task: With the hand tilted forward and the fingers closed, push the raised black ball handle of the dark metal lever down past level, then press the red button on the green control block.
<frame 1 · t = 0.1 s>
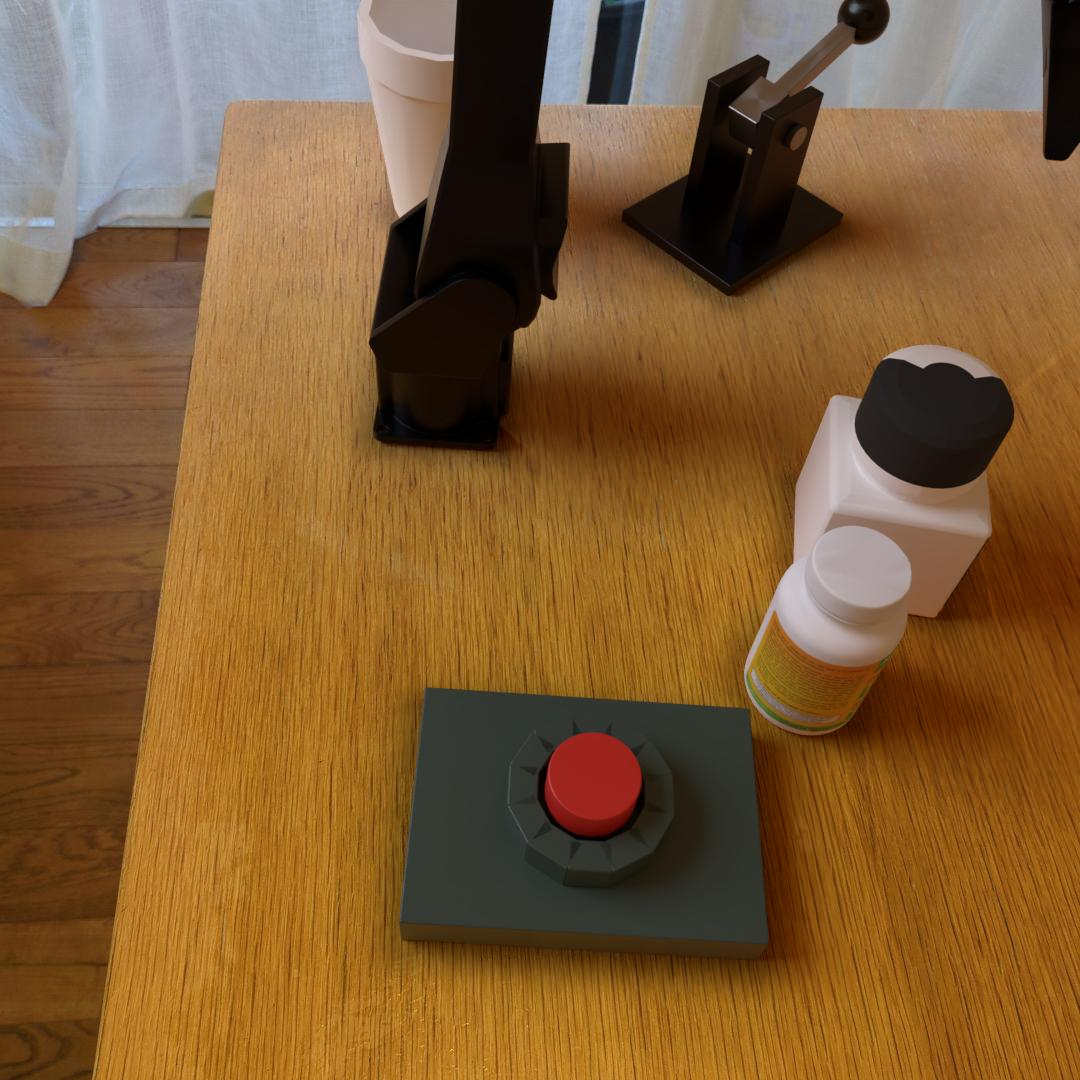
hand: (1078, 221, 49), 15 cm above the table, tool pointing down, fingers open, 9 cm apart
white flower pot: (447, 216, 70), on the table
button: (592, 784, 43), point 4 cm above the table, slide at 0.1 cm
button block: (581, 828, 47), on the table
supplement bottle: (799, 687, 52), on the table
bracket: (730, 227, 71), on the table
lever: (812, 64, 65), point 10 cm above the table, hinge at 20.0°
medicine bottle: (861, 553, 56), on the table
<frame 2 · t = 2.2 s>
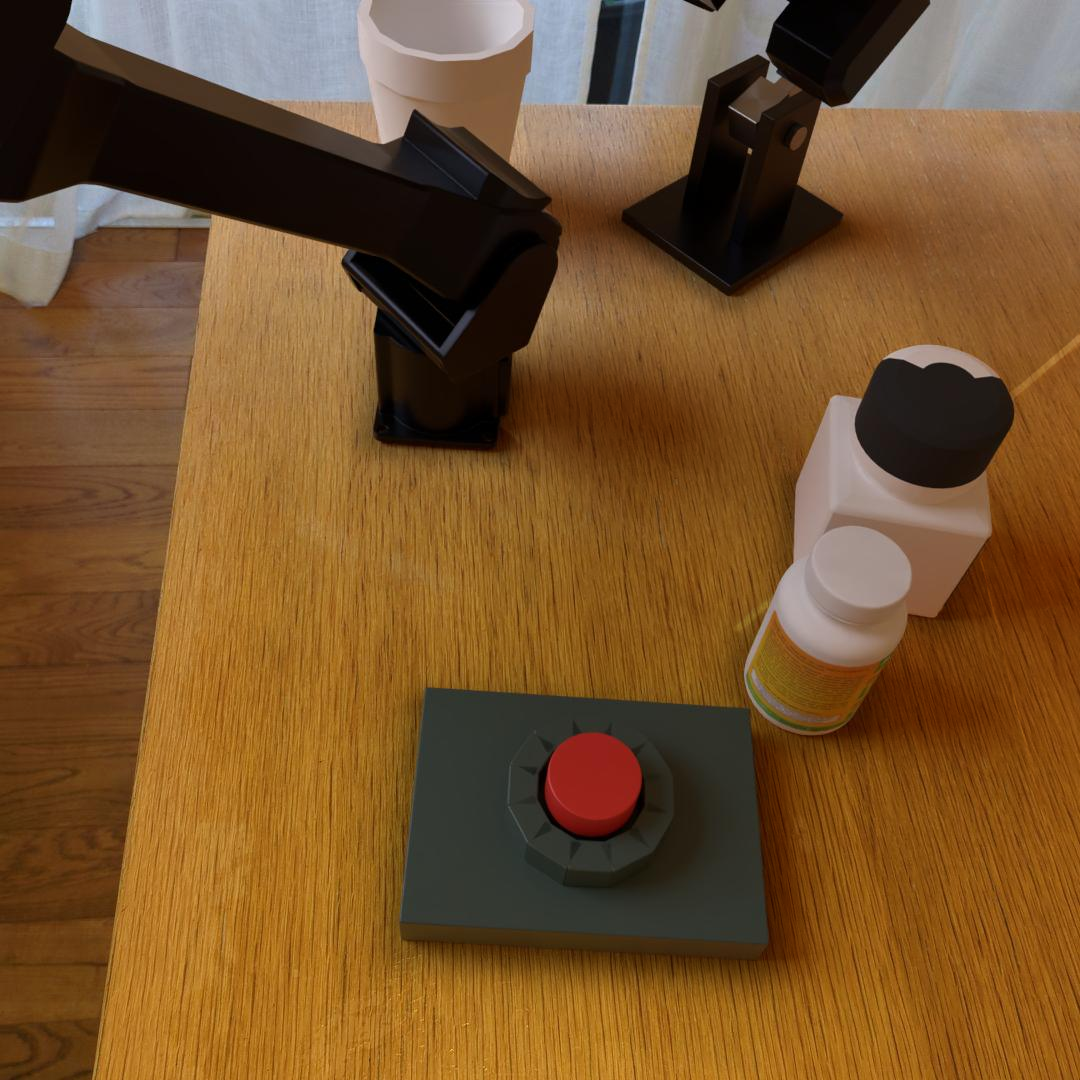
hand: (778, 42, 59), 14 cm above the table, tool tilted 40°, fingers open, 9 cm apart
nothing on the table moved.
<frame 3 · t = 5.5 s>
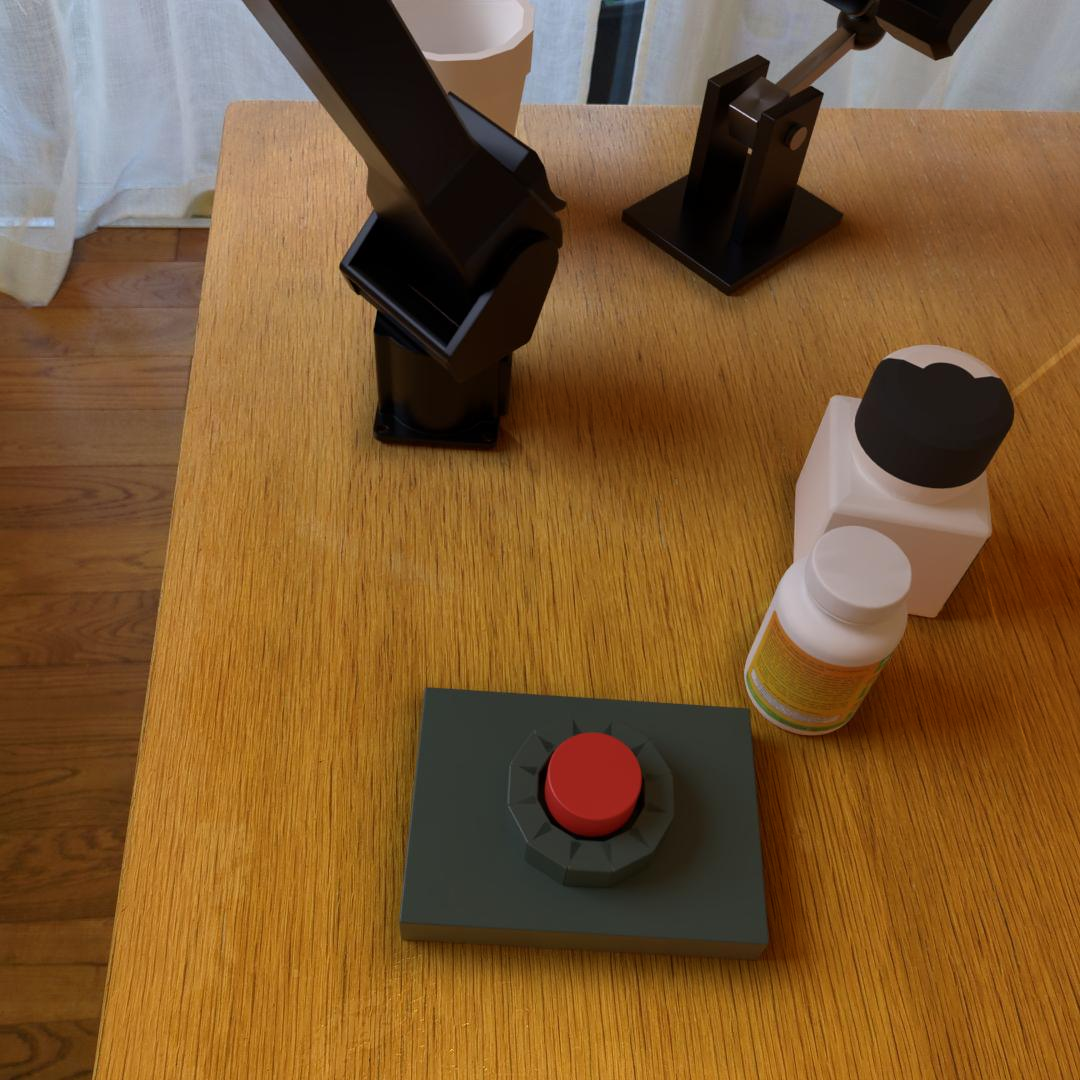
lever: (812, 67, 65), point 9 cm above the table, hinge at 17.2°, touching gripper
everything else where it was.
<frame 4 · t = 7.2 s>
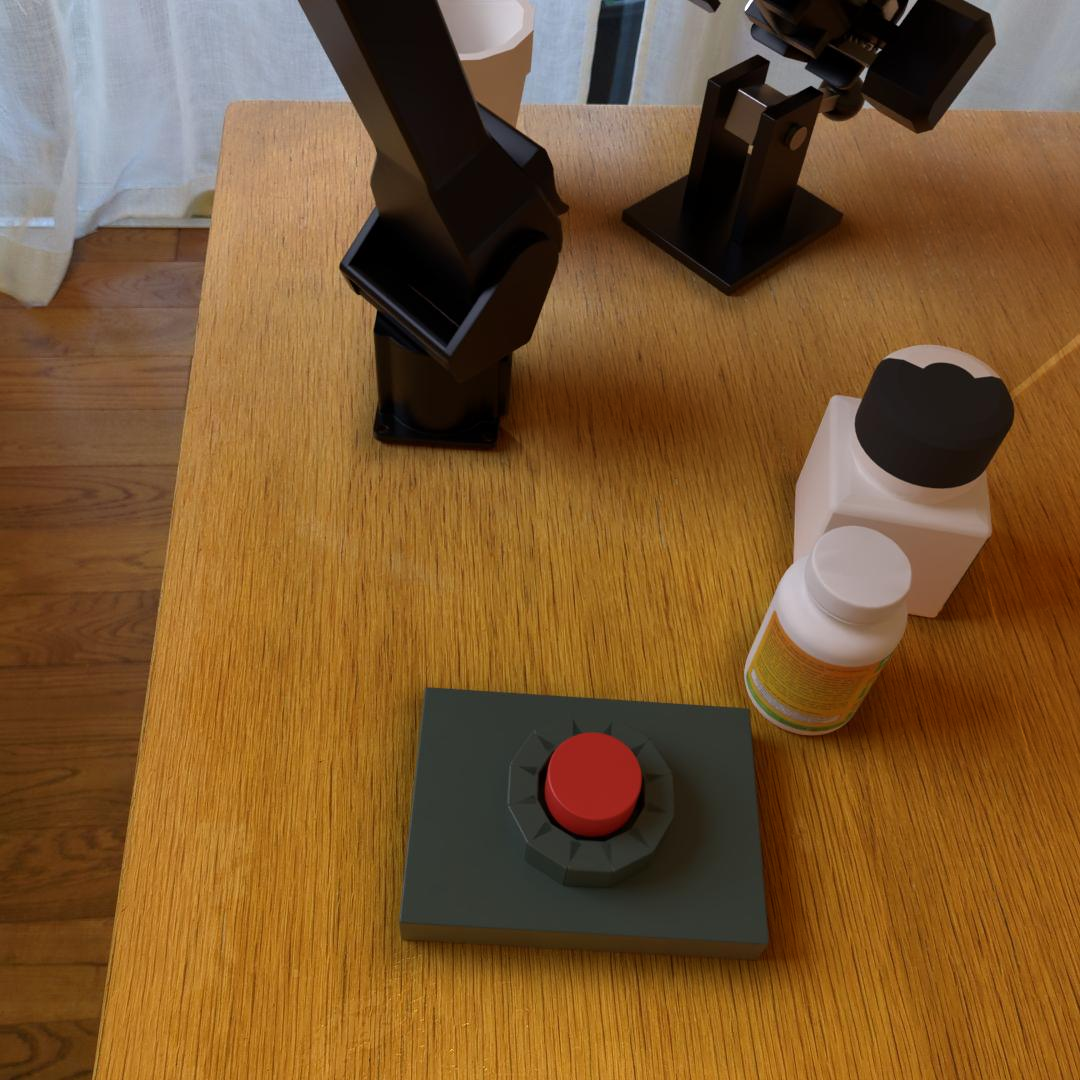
hand: (854, 66, 69), 8 cm above the table, tool tilted 45°, fingers closed
lever: (802, 104, 67), point 7 cm above the table, hinge at -13.7°
everything else where it was.
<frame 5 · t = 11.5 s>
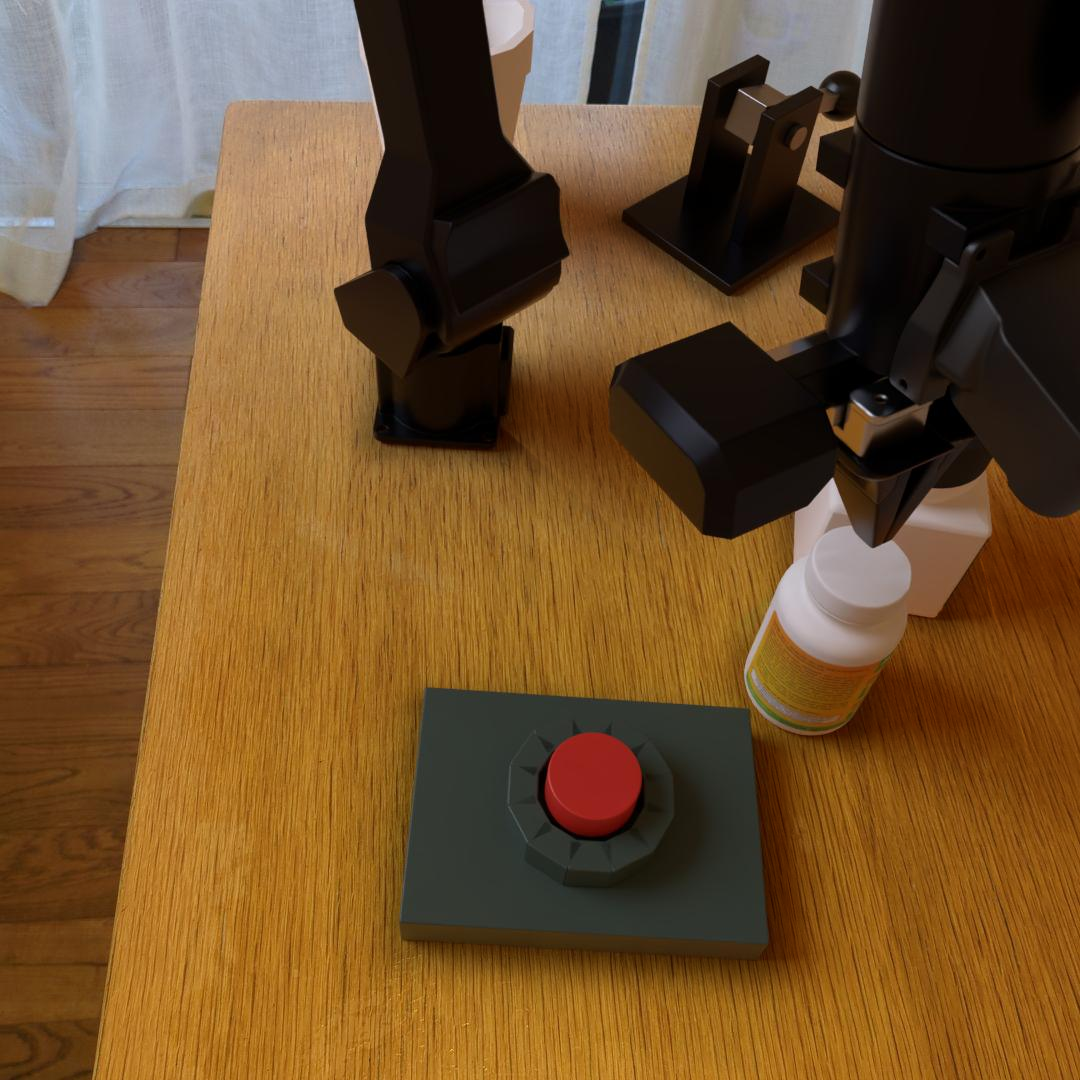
hand: (871, 537, 40), 13 cm above the table, tool pointing down, fingers closed
nothing on the table moved.
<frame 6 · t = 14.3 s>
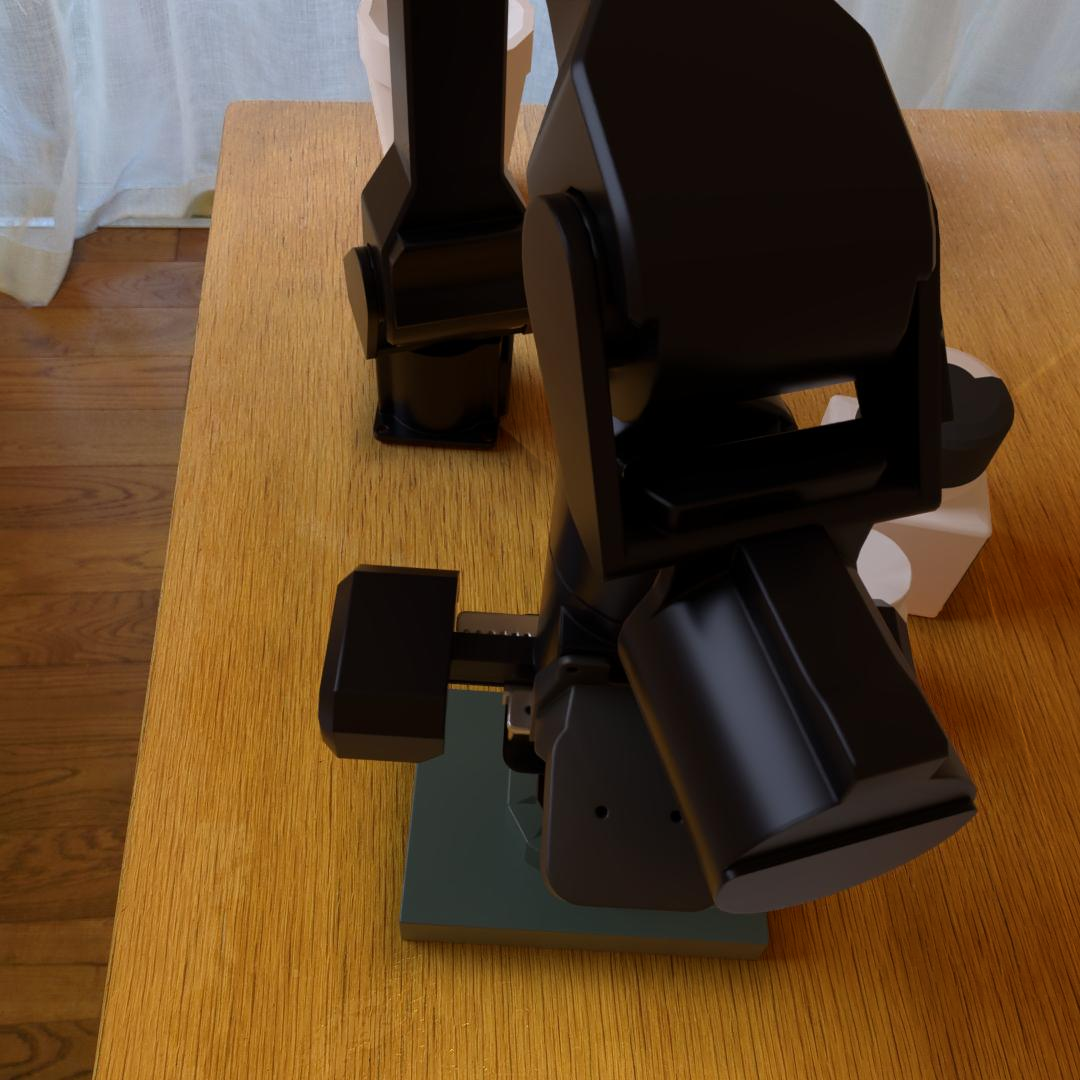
hand: (593, 781, 43), 5 cm above the table, tool pointing down, fingers closed, pressing on button
button: (590, 791, 44), point 4 cm above the table, slide at -0.6 cm, touching gripper
everything else where it was.
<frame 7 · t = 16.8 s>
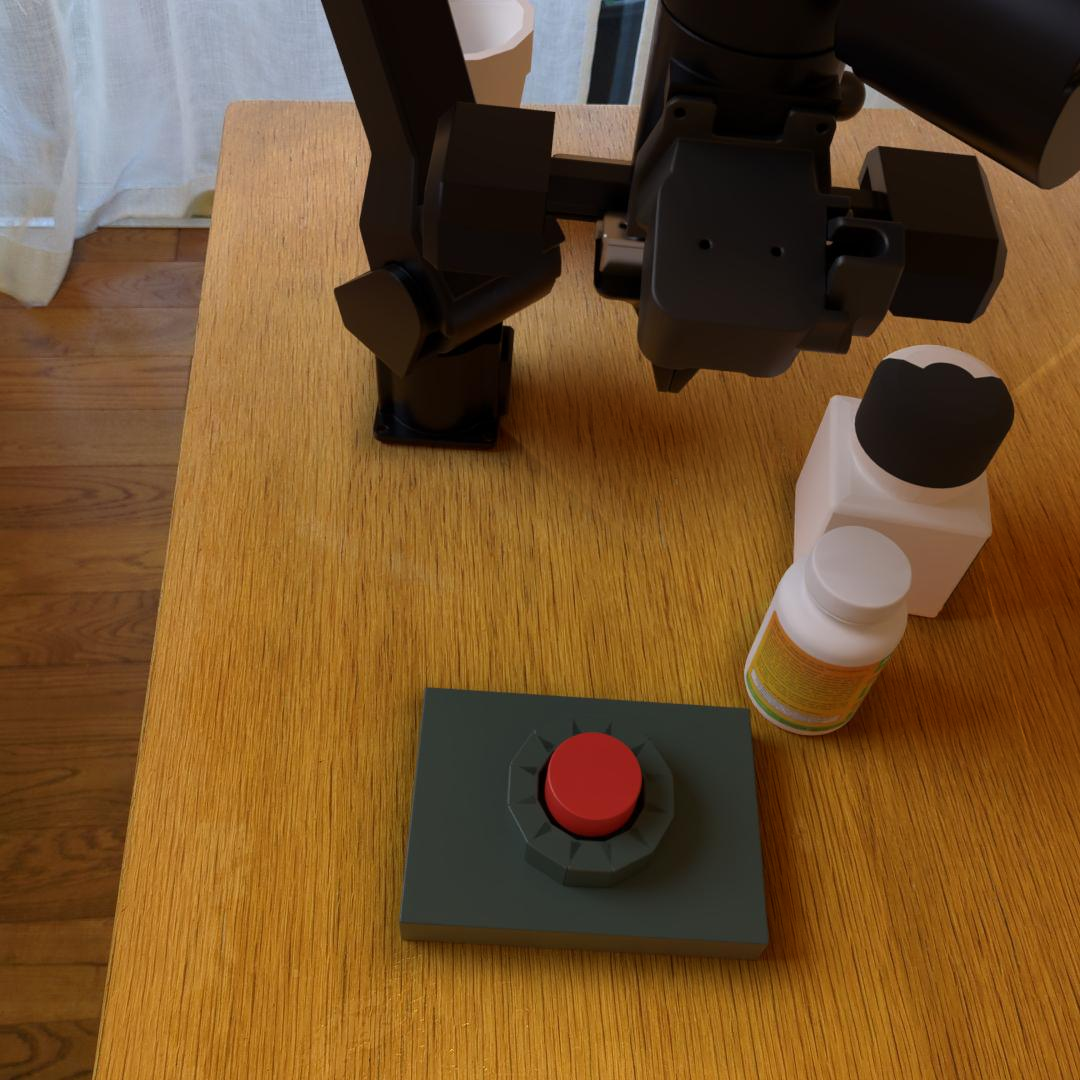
hand: (667, 385, 44), 13 cm above the table, tool pointing down, fingers closed
button: (592, 784, 43), point 4 cm above the table, slide at 0.1 cm
everything else where it was.
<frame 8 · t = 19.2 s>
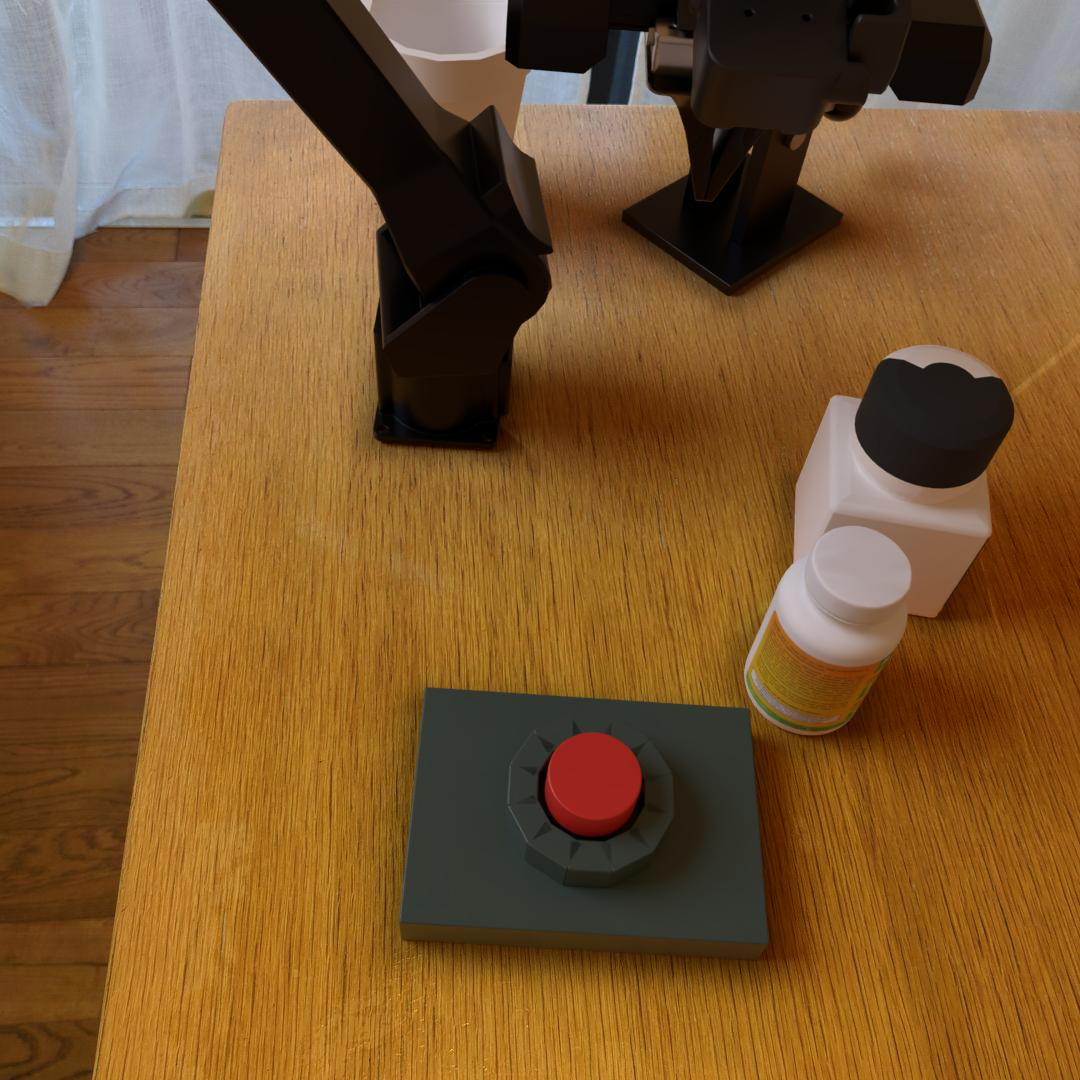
hand: (703, 195, 51), 13 cm above the table, tool pointing down, fingers closed
nothing on the table moved.
at the end: lever at -14° (first picture: +20°); button pushed in 1.1 cm at the most during the clip, back to where it started at the end; button slide at 0.1 cm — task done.
